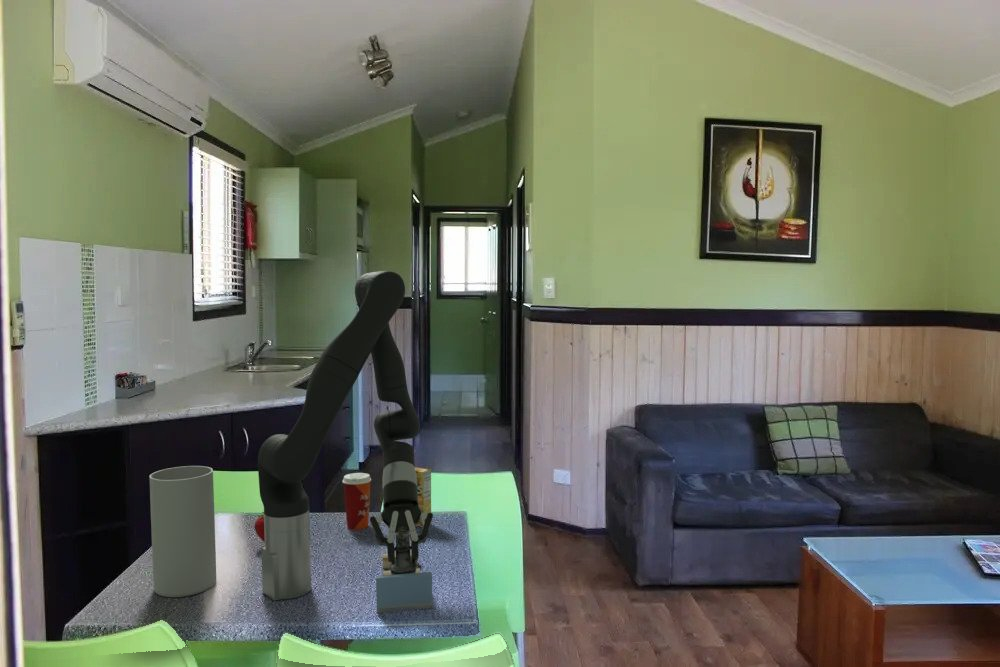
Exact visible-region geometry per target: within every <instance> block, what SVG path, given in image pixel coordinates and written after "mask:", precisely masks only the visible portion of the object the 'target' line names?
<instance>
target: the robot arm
mask: <svg viewBox="0 0 1000 667" xmlns="http://www.w3.org/2000/svg"><path fill="white" fill-rule="evenodd" d="M354 295H355V296H354V297H355V300H356V303H357V307H358V310H357V312H356V313H355V315H354V317H353V319H352V320H351V321H350V322H349V323H348V324H347V325H346V326H345V327H344V329H342V330H341V332H339V334H337V335H336V336H335V337H334V339H332V341H330V343H329V344H328V345H327V346H326V348H325V349H324V350H323V352H322V353H321V354H320V356H319V358H318V360H317V362H316V363H315V366H314V367H313V369H312V371H311V374H310V375H309V378H308V383H307V386H306V392H305V393H306V394H305V397H304V398H305V400H304V404H303V408H302V411H301V413H300V415H299V417H298V419H297V421H296V423H295V424H294V426H293V428H292V429H291V430H290V432H289V434H286V433H285V434H284V433H279V434H278V433H277V434H273V435H271V436H270V437H268V438H267V439H266V440H265V441H264V442H263V443H262V445H260V449H259V452H258V455H257V456H258V458H257V474H258V475H257V476H258V486H259V487H258V488H259V496H260V500H261V503H262V505H263V512H264V530H265V542H264V546H263V547H262V548H261V578H262V579H261V582H262V586H261V587H262V593H263V594H265V595H266V596H267V597H268V598H270V599H271V600H272V601H277V600H288V599H296V598H298V597H302V596H304V595H306V594H308V593H309V592H310V591H311V590H312V571H311V570H312V569H311V565H312V564H311V532H310V531H311V528H310V526H311V525H310V521H311V520H310V499H309V496H308V494H307V493H306V491H305V488H304V487H303V484H302V480H304V479H305V478H306V477H308V475H309V474H310V472H311V471H312V469H313V468H314V465H315V463H316V461H317V459H318V455H319V454H320V451H321V449H322V446H323V444H324V442H325V441H326V440H325V439H326V437H327V435H328V432H329V430H330V428H331V426H332V424H333V422H334V421H335V419H336V418H337V415H338V413H339V411H340V410H341V407H342V406H343V404H344V403H345V400H346V398H347V397H348V395H349V393H350V392H351V390H352V388H353V387H354V385H355V383H356V381H357V379H358V377H359V376H360V374H361V372H362V371H363V367H364V366H365V364H366V362H367V360H368V359H369V357H370V354H371V360H372V364H373V372H374V379H375V387H376V388H375V389H376V395H377V398H378V399H379V400H380V401H381V402H384V403H393V404H394V403H395V404H397V405H398V406H400V407H401V409H395V410H387V411H381V412H379V413H378V414H377V415H376V416H375V418H374V420H373V428H374V433H375V434H376V437H377V439H378V443H379V445H380V448H381V453H382V454H381V455H382V466H383V467H382V468H383V469H382V487H381V488H382V502H383V504H382V508H383V509H382V511H381V514H379V515H378V516H373V515H372V516H371V517H370V516H369V525H370V528H371V530H372V533H373V536H374V537H375V539H376V541H377V543H378V545H379V546H380V547H386V548H387V554H388V561H389V562H391V564H392V565H394V564H395V553H396V551H395V540H396V533H397V532H398V531H400V530H401V527H402V526H403V528H404V530H406V531H408V532H409V538H410V546H411V550H410V552H411V555H412V563H415V561H416V560H418V561H419V558H420V556H419V555H420V554H419V552H420V551H419V545H420V544H424V543H426V542H427V539H428V536H429V533H430V530H431V526H432V523H433V519H434V513H433V512H431V513H428V514H426V513H422V512H421V510H420V508H419V506H418V491H417V477H416V472H415V467H416V465H415V453H414V452H415V451H414V448H413V446H412V445H411V444H410V443H408V442H405V441H403V440H410V439H414V438H416V437H417V436H418V435H419V433H420V430H421V422H420V419H419V416H418V414H417V412H416V410H415V407H414V405H413V403H412V400H411V397H410V395H409V390H408V384H407V383H408V382H407V376H406V370H405V364H404V360H403V357H402V355H401V352H400V350H399V348H398V345H397V344H396V343H397V342H396V341H395V338H394V337H393V334H392V330H391V327H390V323H389V322H390V321H391V319H392V318H393V316H394V315H395V314H396V313H397V311H398V309H399V308H400V306H401V305H402V303H403V302H404V298H405V295H406V284H405V281H404V279H403V277H402V276H401V275H400V274H398V273H397V272H394V271H391V270H379V271H378V270H377V271H372V272H367V273H364V274H361V275H360V277H358V279H357V281H356V283H355V287H354ZM420 518H421V519H422V523H423V524H424V526H423V528H422V529H421V532H420V534H418V533H417V529H416V526H415V525H416V523H417V522H418V521H419V519H420ZM382 522H383V523H384V524H385V526H387V528H389V530H388V536H384V533H383V531H382V529H381V526H382Z"/></svg>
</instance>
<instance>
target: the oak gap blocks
mask: <svg viewBox="0 0 1000 667" xmlns="http://www.w3.org/2000/svg"><path fill="white" fill-rule="evenodd" d="M381 556H382V559H381V560H382V570H383V569H389V566H390V565H391V562H389V561H388V553H382V554H381ZM410 558H411V561H412V555H411V551H410ZM395 560H396V552H395ZM418 561H419V559H418V560H416V561H415V563H416V564H417V565H418V566H419V564H418V563H419V562H418ZM415 573H422V572H421V568H419V567H417V568H416V572H415ZM382 575H392V574H391V570H383V571H382Z"/></svg>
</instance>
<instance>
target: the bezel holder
mask: <svg viewBox="0 0 1000 667" xmlns="http://www.w3.org/2000/svg"><path fill="white" fill-rule="evenodd" d="M375 587H376V590H375V591H376V593H375V594H376V614H381V613H382V612H384V613H394V612H395V611H396V612H405V610H408V611H415V609H419V610H426V609H427V610H429V609H428V608H431V609H433V573H432V571H423V572H421V573H411V574H398V575H383V574H382V575H375ZM382 614H383V613H382Z"/></svg>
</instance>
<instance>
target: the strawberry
mask: <svg viewBox="0 0 1000 667" xmlns="http://www.w3.org/2000/svg"><path fill="white" fill-rule="evenodd" d="M261 513H262V514H261V515H258V516H257V517H258V518H257V519H256V520H255V522H254V530H255V534H256V535H257V537H259V538H260V539H261V540H262V542H264V543H265V530H264V511H261Z"/></svg>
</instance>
